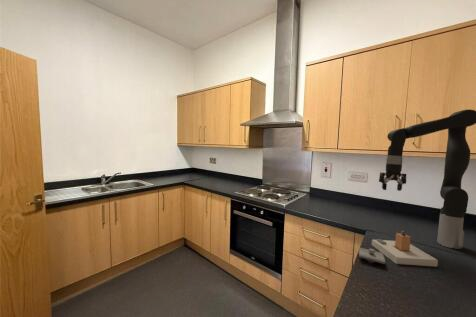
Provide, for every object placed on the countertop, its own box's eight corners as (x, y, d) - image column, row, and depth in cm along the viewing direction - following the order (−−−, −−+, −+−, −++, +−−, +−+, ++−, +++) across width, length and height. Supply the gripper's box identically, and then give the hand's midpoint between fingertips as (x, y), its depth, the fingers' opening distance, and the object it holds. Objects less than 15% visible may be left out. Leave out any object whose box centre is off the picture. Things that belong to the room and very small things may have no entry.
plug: (402, 252, 102) (404, 229, 101) (408, 257, 98) (411, 233, 97) (394, 252, 102) (396, 229, 102) (400, 256, 98) (402, 232, 98)
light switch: (382, 258, 96) (383, 248, 96) (385, 268, 87) (386, 257, 87) (358, 252, 101) (359, 242, 100) (358, 261, 92) (359, 250, 92)
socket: (405, 247, 109) (406, 240, 109) (437, 266, 91) (438, 258, 91) (371, 244, 109) (372, 238, 109) (396, 263, 92) (396, 255, 91)
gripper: (401, 163, 124) (399, 189, 125) (377, 162, 124) (375, 188, 125) (411, 164, 116) (408, 192, 117) (386, 163, 117) (383, 190, 118)
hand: (391, 190), depth 121 cm, fingers open, 8 cm apart
